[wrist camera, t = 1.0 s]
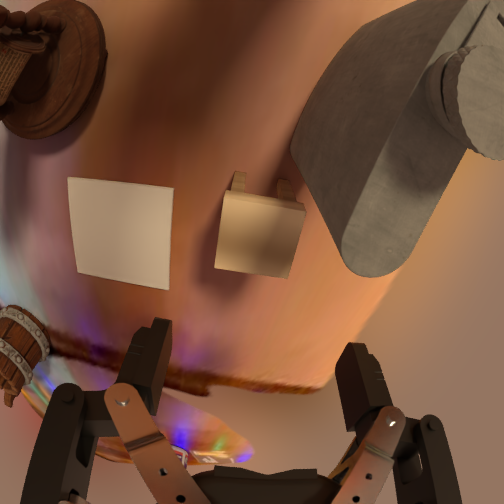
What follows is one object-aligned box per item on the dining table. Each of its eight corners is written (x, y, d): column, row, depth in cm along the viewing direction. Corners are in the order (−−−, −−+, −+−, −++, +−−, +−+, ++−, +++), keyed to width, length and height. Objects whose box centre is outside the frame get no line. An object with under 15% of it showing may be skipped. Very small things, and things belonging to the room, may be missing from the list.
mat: (69, 176, 27) (67, 178, 26) (174, 188, 27) (173, 189, 27) (79, 270, 33) (77, 272, 32) (169, 288, 34) (168, 290, 33)
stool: (232, 167, 26) (223, 197, 20) (292, 178, 27) (306, 211, 20) (223, 222, 29) (214, 267, 22) (280, 231, 30) (287, 278, 23)
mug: (49, 316, 37) (10, 399, 25) (62, 356, 46) (36, 423, 34) (-4, 288, 35) (-46, 360, 23) (16, 332, 43) (-13, 393, 32)
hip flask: (313, 171, 27) (405, 330, 9) (274, 150, 26) (315, 292, 8) (395, 37, 19) (574, 16, 2) (358, 11, 18) (515, -63, 1)
